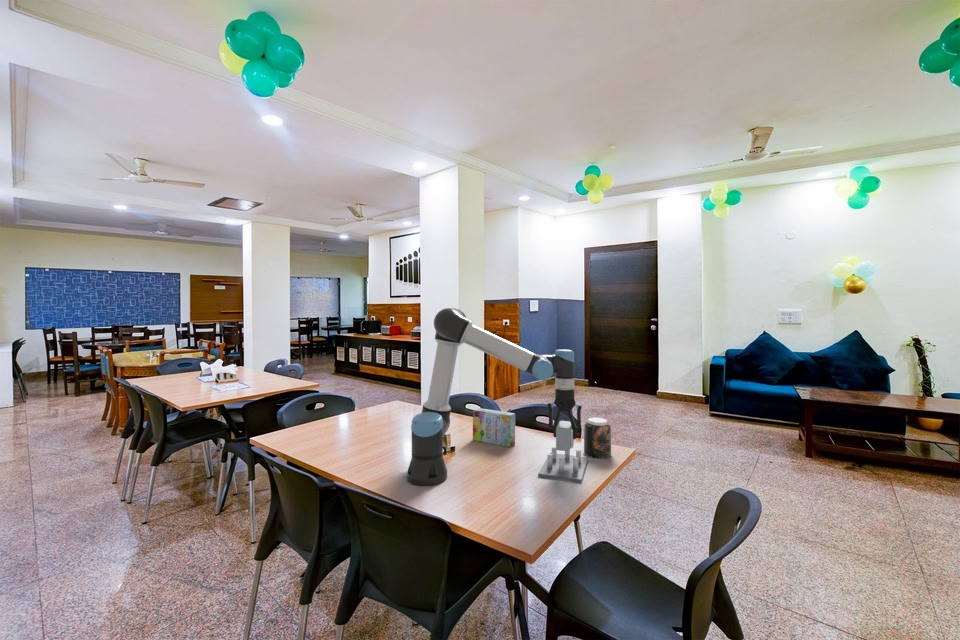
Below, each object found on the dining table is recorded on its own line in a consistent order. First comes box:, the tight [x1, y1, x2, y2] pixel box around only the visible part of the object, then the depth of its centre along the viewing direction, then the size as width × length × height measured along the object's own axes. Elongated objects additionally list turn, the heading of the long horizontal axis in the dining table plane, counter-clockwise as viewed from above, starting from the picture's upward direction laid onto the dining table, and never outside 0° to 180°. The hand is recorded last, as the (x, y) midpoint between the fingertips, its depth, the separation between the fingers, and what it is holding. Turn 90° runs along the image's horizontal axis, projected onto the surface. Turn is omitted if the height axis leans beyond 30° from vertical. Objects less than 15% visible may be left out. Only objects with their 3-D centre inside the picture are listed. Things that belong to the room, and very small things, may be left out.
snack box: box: [472, 407, 516, 448], centre depth 192 cm, size 21×6×15 cm, turn 58°
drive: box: [555, 420, 572, 452], centre depth 160 cm, size 5×10×9 cm, turn 159°
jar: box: [583, 416, 612, 459], centre depth 177 cm, size 12×12×15 cm
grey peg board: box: [537, 446, 589, 484], centre depth 161 cm, size 16×24×6 cm, turn 159°
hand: (564, 445), depth 160 cm, fingers closed on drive, 5 cm apart
